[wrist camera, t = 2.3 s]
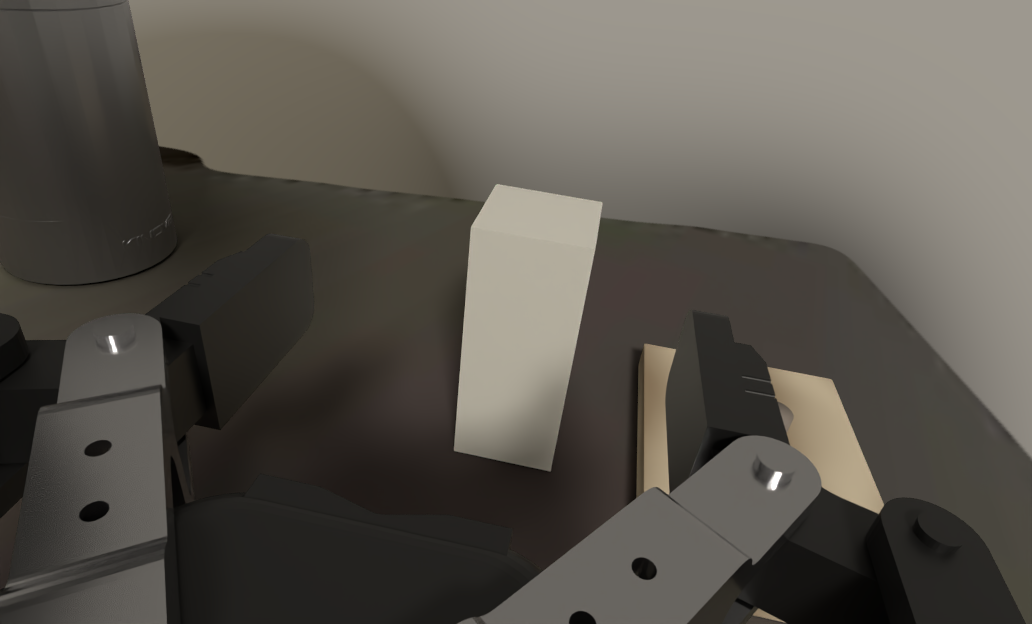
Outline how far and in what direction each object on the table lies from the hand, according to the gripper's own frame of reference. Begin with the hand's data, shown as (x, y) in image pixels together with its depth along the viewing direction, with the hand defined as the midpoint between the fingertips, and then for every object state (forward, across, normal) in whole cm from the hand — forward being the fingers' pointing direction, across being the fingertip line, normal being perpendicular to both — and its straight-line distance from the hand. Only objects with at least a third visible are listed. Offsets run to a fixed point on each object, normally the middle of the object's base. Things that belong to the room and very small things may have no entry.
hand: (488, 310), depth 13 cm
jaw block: (+11, 0, +13) cm, 17 cm away
